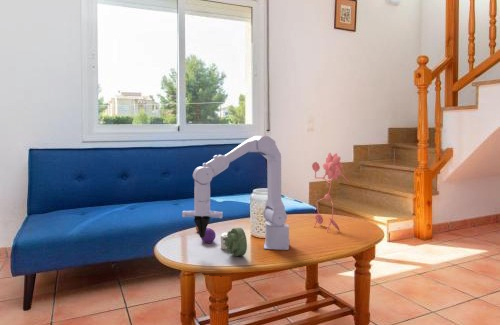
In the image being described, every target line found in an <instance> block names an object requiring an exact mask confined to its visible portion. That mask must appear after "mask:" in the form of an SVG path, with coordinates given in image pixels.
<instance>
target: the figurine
mask: <svg viewBox="0 0 500 325" xmlns="http://www.w3.org/2000/svg"><path fill="white" fill-rule="evenodd" d="M311 167H312V170H313V171H314V179H322V180H324V181H326V182H327V183H328V184H329V189H328V192H327V193H326V194H325V195H324V197H323V198H321V199H318V200H316V208H317V214H316V215H315V218H314V219H315V223H314V225H313V227H314V228H315V227H316V225H317V223H318V224H319V225H322V224H323V223H324V217H323V216H322V215H321V214H320V211H319V203H318V202H319V201H322V200H324V199H325V200H326V201H329V200H330V202H331V204H332V207H334V202H333V201H332V198H331V194H330V191H331V189H332V186H333V185H332V184H333V183H332V181H333V180H335V181H337V180H338V178H339V176H342V177H343V178H344V179H345V181H347V182H348V183H349V184H350V183H351V182H350V181H349V179H348V178H346V176H345V175H344V174H343V173H342V169H343V168H344V165H343V162H341V156H338V153H334V154H333V155H332V153H331V152H328V154H327V156H326V157H325V163H323V164H322V168H323V169H324V170H325V172H324V175H323V177H322V176H321V177H318V176H317V172H319V171H320V169H321V166H320V164H319V163H318V162H317V161H314V162H313V163H312V164H311ZM326 177H327V178H326ZM329 180H330V181H329ZM331 213H332V214H331V217H329V221H330V222H329V221H328V222H327V221H326V223H327V224H328V226H327V229H326V233H328V231H329V229H330V226H331V225H332V226H333V227H334V228H335V229H337V231H339V232H340V228H339V224H338V223H336V221H335V220H334V218H333V216H334V208H332V211H331ZM344 227H345V228H347V226H346V225H344ZM335 235H338V234H333V236H335Z"/></svg>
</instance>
